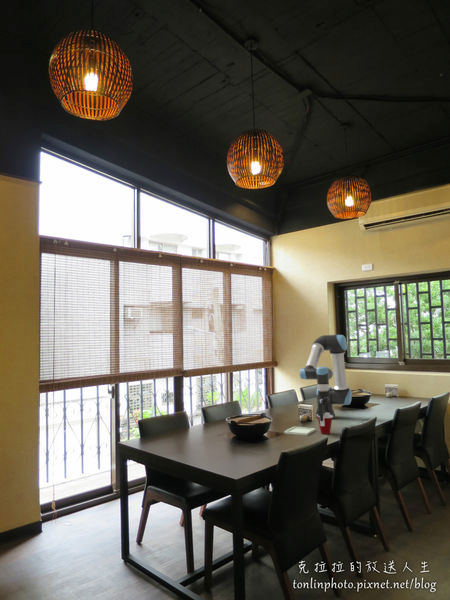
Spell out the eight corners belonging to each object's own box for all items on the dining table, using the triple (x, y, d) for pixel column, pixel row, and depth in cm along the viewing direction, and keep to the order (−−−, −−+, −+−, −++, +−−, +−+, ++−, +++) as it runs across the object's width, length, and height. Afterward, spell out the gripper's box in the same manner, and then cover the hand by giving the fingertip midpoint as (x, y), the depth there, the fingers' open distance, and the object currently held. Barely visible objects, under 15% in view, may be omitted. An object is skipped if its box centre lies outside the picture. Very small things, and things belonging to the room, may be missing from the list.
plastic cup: (329, 436, 271) (328, 417, 272) (314, 434, 278) (313, 415, 279) (337, 432, 279) (336, 414, 280) (322, 430, 286) (321, 412, 287)
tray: (293, 428, 297) (293, 426, 297) (315, 430, 288) (315, 428, 288) (284, 433, 283) (284, 431, 283) (307, 435, 275) (306, 433, 275)
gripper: (323, 387, 293) (325, 420, 291) (311, 392, 273) (313, 427, 271) (334, 388, 289) (336, 421, 287) (323, 392, 269) (325, 428, 268)
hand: (325, 424), depth 279 cm, fingers closed on plastic cup, 11 cm apart
